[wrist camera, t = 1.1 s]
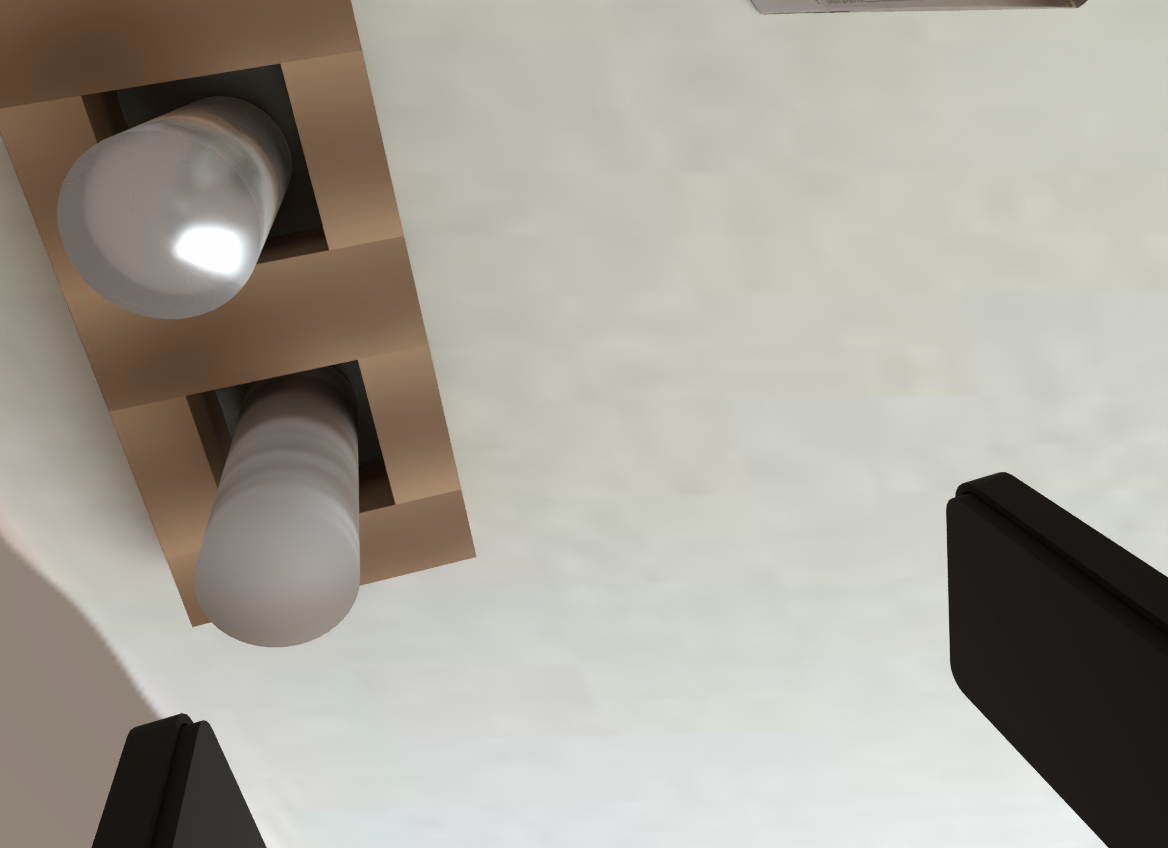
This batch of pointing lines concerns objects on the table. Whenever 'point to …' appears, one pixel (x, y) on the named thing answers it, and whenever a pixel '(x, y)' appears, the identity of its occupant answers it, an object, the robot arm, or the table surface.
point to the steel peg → (176, 207)
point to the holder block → (253, 322)
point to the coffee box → (903, 5)
